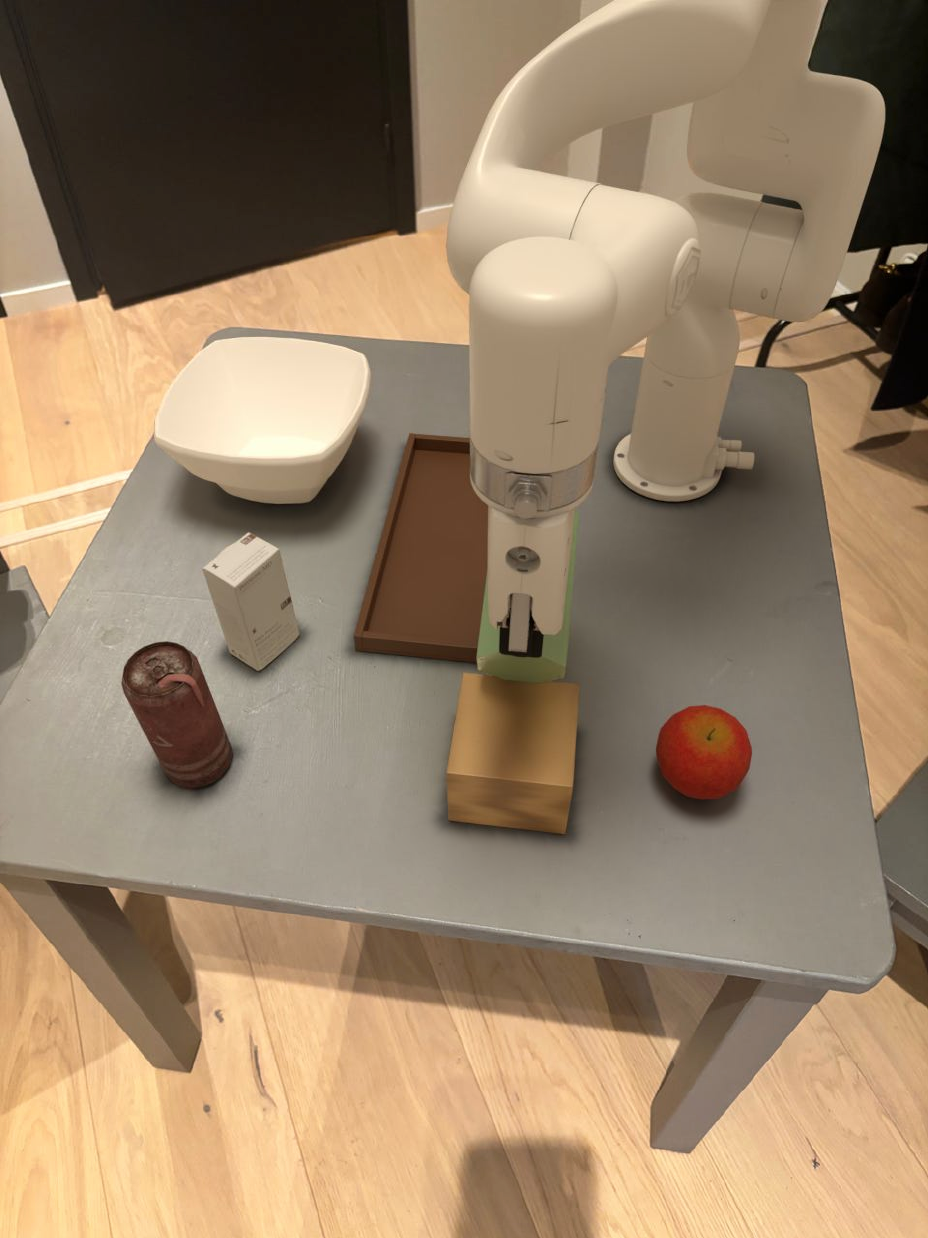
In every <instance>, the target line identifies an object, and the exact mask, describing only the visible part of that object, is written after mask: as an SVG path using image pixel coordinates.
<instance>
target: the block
mask: <svg viewBox="0 0 928 1238" xmlns="http://www.w3.org/2000/svg"><path fill="white" fill-rule="evenodd" d="M461 676H462V677H461V682H460V688H459V695H458V701H457V706H456V713H455V720H454V724H453V730H452V736H451V742H450V748H449V754H448V760H447V766H446V772H445V775H446V795H447V815H448V821H449V822H450V821H451V822H459V823H467V824H475V825H485V826H493V827H499V828H500V827H501V828H502V827H503V828H510V829H518V830H527V831H535V832H544V833H553V834H560V835H566V831H567V825H568V819H569V813H570V807H571V802H572V796H573V790H574V779H575V762H576V748H577V747H576V746H577V745H576V744H577V732H578V731H577V730H578V715H579V699H580V698H579V697H580V684H579V683H569V682H559V681H547V682H542V683H530V682H520V681H511V680H503V679H500V678H498V677H495V676H493V675H490V674H481V673H473V672H472V673H471V672H463V673H462V675H461Z"/></svg>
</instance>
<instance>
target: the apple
mask: <svg viewBox="0 0 928 1238" xmlns="http://www.w3.org/2000/svg"><path fill="white" fill-rule="evenodd" d="M655 754H656V759H657V763H658V766H659V769H660V772H661V775H662V776H663V778H665V780H666V781H667V783H668V784H670V785H671V787H672V788H673V789H674V790H676V791H677V792H678V793H680V794H682V795H684V796H685V797H689V798H693V799H698V800H717V799H720V798H722V797H724V796H727V795H728V794H730V793H731V792H734V791H735V790H736V789H738V788H739V787H740V785H741V784H742V783H743V781H744V779H745V778H746V776H747V775H748V773H749V771H750V768H751V762H752V758H753V748H752V744H751V740H750V737H749V734H748V731H747V729H746V728H745V726H744V725H743V724H742V723H741V722H740V721H739V720H738V718H737V717H736V716H734V715H732V714H731V713H730V712H727V711H726V710H724V709H722V708H719V707H715V706H710V705H707V704H702V705H701V704H700V705H690V706H687V707H685V708H683V709H681V710H679V711H677V712H675V713H674V714H672V715H671V716H670V717H669V718H668V719H667V720H666V722H665V723H664V724H663V725H662V727H661V728H660V729H659V732H658V735H657V741H656V745H655Z"/></svg>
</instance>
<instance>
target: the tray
mask: <svg viewBox="0 0 928 1238" xmlns="http://www.w3.org/2000/svg"><path fill="white" fill-rule="evenodd" d="M385 516H386V517H385V521H384V524H383V528H382V531H381V534H380V538H379V543H378V546H377V550H376V553H375V555H374V559H373V563H372V568H371V571H370V575H369V579H368V582H367V586H366V589H365V592H364V597H363V601H362V603H361V609H360V611H359V614H358V618H357V622H356V626H355V630H354V633H353V640H354V646H355V651H357V652H367V653H376V654H387V655H395V656H396V655H397V656H407V657H418V658H426V659H436V660H445V661H446V660H447V661H456V662H466V663H476V664H477V658H476V657H477V649H478V641H479V633H480V625H481V617H482V609H483V601H484V593H485V585H486V577H487V569H488V505H487V504H486V503H485V502H483V501H482V500H481V499H480V498H479V496H478V495H477V494H476V493H475V491H474V489H473V487H472V485H471V480H470V437H461V436H447V435H435V434H423V433H408V437H407V440H406V444H405V447H404V451H403V455H402V459H401V462H400V465H399V470H398V473H397V477H396V482H395V484H394V488H393V491H392V495H391V498H390V502H389V506H388V509H387V513H386V515H385Z"/></svg>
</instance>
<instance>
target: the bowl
mask: <svg viewBox="0 0 928 1238" xmlns="http://www.w3.org/2000/svg"><path fill="white" fill-rule="evenodd" d="M371 372H372V371H371V369H370V365H369V361H368V358H367V356H366V355H365V354H363V353H362V352H359V351H356V350H353V349H351V348H349V347H346V346H341V345H338V344H332V343H327V342H323V341H315V340H309V339H302V338H293V337H292V338H291V337H272V336H241V337H240V336H239V337H233V338H222V339H217V340H214V341H213V342H211V343H210V344H208V345H206V346H205V347H204V348H203V349H201V350H200V351H198V352H197V353H196V354H195V355H194V356H193V357H192V358H191V359H190V360H189V362H187V363H186V365H185V366H183V368H182V369H181V370H180V371H179V373H178V374H177V376H175V378H174V379H173V380H172V382H171V383H170V385H169V387H168V388H167V390H166V392H165V394H164V396H163V398H162V400H161V402H160V405H159V408H158V411H157V413H156V416H155V419H154V422H153V440H154V444H155V445H156V446H158V447H159V448H160V449H161V450H163V451H164V452H165V453H166V454H168V456H170V457H171V458H172V459H174V460H175V461H176V462H177V463H178V464H179V465H181V466H182V467H184V468H185V469H186V470H187V471H188V472H189V473H191V474H192V475H194V476H196V477H198V478H200V479H202V480H205V481H208V482H211V483H215V484H216V485H218V486H219V487H220V488H221V489H222V490H223V491H224V492H225V493H226V494H229V495H231V496H233V497H237V498H241V499H243V500H244V499H245V500H248V501H251V502H257V503H264V504H276V505H283V504H284V505H285V504H286V505H287V504H305V503H309V502H311V501H313V499H315V498H316V497H317V495H318V494H319V492H321V489H323V487H324V485H325V484H327V481H328V479H329V478H330V477H331V476H332V475H333V474H334V472H335V471H336V469H337V468H338V467H339V465H340V464H341V462H342V461H343V459H344V458H345V456H346V454H347V452H348V450H349V449H350V446H351V444H352V441H353V439H354V436H355V435H356V432H357V429H358V427H359V424H360V422H361V420H362V418H363V415H364V413H365V410H366V407H367V403H368V398H369V396H370V391H371V382H372V373H371Z"/></svg>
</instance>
